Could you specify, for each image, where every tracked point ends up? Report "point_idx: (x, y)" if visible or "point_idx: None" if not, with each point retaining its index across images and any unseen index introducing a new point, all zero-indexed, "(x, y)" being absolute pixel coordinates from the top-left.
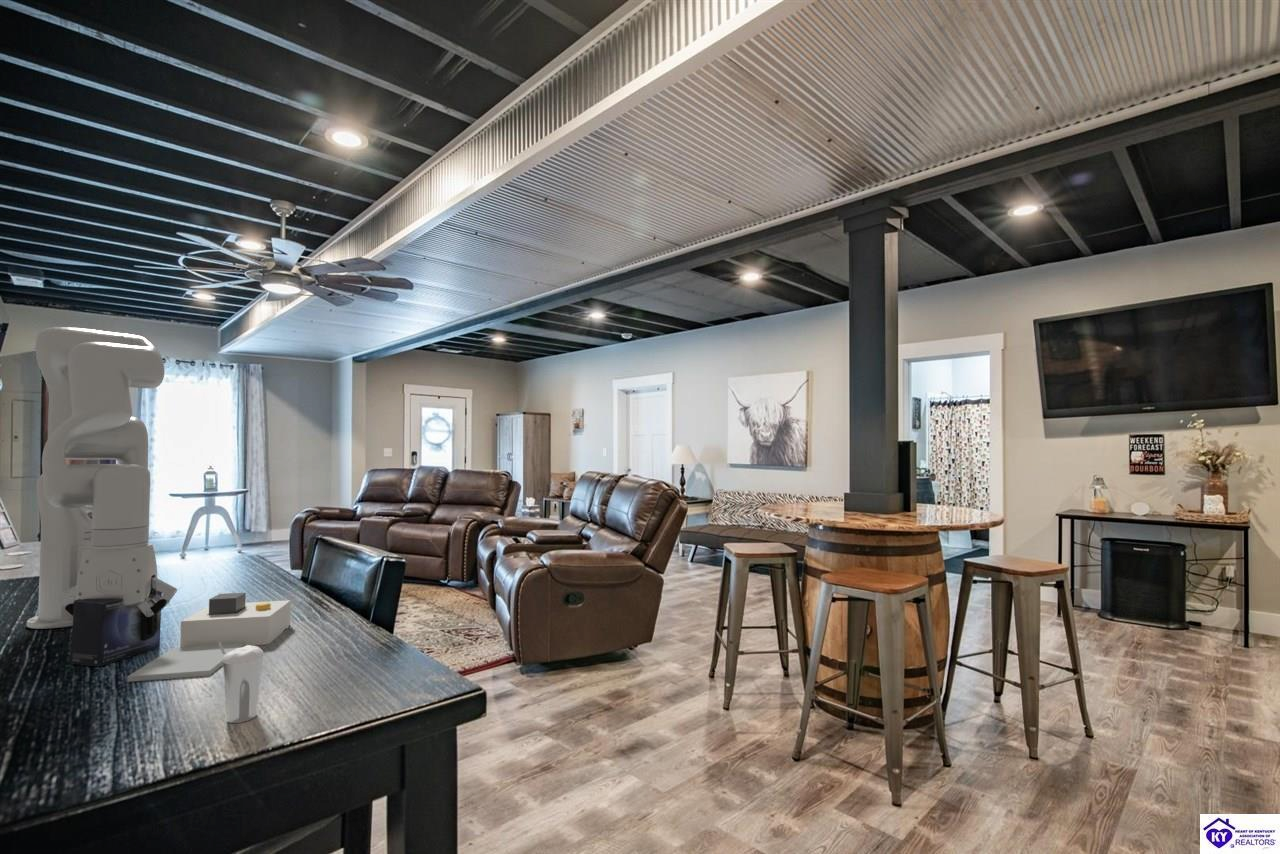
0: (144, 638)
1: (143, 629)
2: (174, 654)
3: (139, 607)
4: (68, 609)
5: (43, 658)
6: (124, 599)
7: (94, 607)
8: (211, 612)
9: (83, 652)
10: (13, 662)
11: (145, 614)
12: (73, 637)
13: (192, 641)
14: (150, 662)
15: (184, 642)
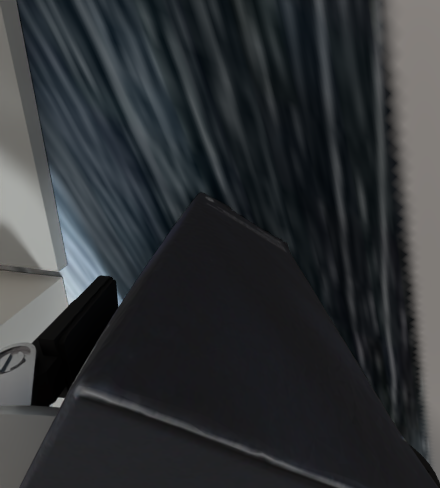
0: (97, 277)
1: (82, 298)
2: (5, 197)
3: (27, 403)
4: None
5: (356, 316)
6: (6, 484)
7: (217, 368)
8: None
9: (253, 232)
10: (410, 308)
11: (32, 356)
12: (305, 282)
13: (14, 286)
14: (23, 124)
15: (36, 287)
